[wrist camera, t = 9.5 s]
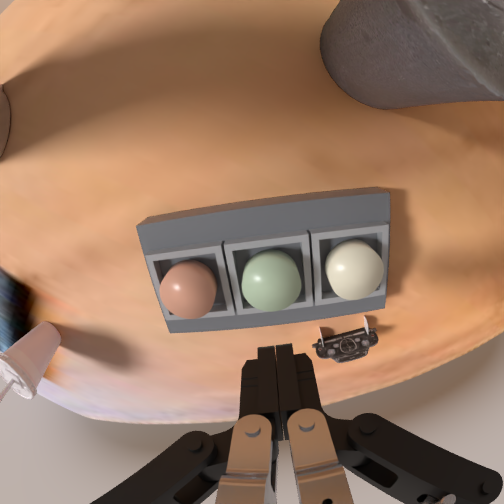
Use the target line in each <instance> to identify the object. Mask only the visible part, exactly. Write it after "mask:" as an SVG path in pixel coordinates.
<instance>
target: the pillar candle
mask: <svg viewBox="0 0 504 504" xmlns="http://www.w3.org/2000/svg"><path fill="white" fill-rule="evenodd" d="M320 50H321V55H322V59H323V62H324V65H325V67H326V69H327V71H328V72H329V74H330V76H331V77H332V78H333V80H334V81H335V82H336V83H337V85H338V86H339V87H340V88H341V89H342V90H344V91H345V92H346V93H347V94H348V95H350V96H351V97H352V98H354V99H356V100H357V101H359V102H361V103H363V104H365V105H368V106H371V107H375V108H380V109H398V108H404V107H413V106H422V105H431V104H441V103H453V102H467V101H504V0H340V2H339V4H338V5H337V7H336V8H335V9H334V11H333V12H332V14H331V16H330V18H329V19H328V20H327V21H326V23H325V25H324V27H323V29H322V33H321V37H320Z"/></svg>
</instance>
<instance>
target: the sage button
mask: <svg viewBox="0 0 504 504" xmlns="http://www.w3.org/2000/svg"><path fill="white" fill-rule="evenodd" d="M300 291H301V279H300V275H299V272H298V268H297V265H296V263H295V261H294V260H293V259H292V258H291V257H290V256H289V255H288V254H286V253H285V252H283V251H280V250H275V249H268V250H263V251H260V252H258V253H256V254H254V255H253V256H252V257H251V258H250V259H249V260H248V261H247V263H246V265H245V267H244V271H243V279H242V292H243V295H244V297H245V299H246V300H247V301H248V303H250V304H251V305H252V306H253V307H255V308H257V309H259V310H262V311H268V312H273V311H279V310H283V309H285V308H287V307H289V306H290V305H292V304H293V303H294V302H295V300H296V299H297V298H298V296H299V294H300Z"/></svg>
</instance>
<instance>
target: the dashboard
mask: <svg viewBox="0 0 504 504" xmlns="http://www.w3.org/2000/svg"><path fill="white" fill-rule="evenodd" d="M319 329H320V327H319ZM376 331H377V330H376V328H372V329H370V328H369V327H368V322H367V319H366V317H365V315H364V328H360V329H356V330H353V331H349V332H345V333H342V334H338V335H334V336H330V337H326V338H322V334H321V330H320V335H321V339H318V343H315V344H313V345H312V346H313V348H316V353H317V356H318V357H319V358H322V359H328V358H332V359H333V360H334V361H336V362H337V363H343V362H348V361H352V360H356V359H359V358H362V357H364V356H366V355H367V354H368V350H369V347H372V346H375V345H376V344H377V343H378V336H377V335H376V333H375V332H376Z"/></svg>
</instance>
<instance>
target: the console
mask: <svg viewBox="0 0 504 504" xmlns="http://www.w3.org/2000/svg"><path fill="white" fill-rule="evenodd" d="M136 228H137V232H138V236H139V239H140V243H141V246H142V250H143V253H144V257H145V260H146V264H147V267H148V270H149V274H150V277H151V280H152V283H153V286H154V289H155V292H156V295H157V298H158V301H159V304H160V307H161V310H162V313H163V316H164V318H165V321H166V324H167V327H168V329H169V332H170V333H187V332H204V331H218V330H231V329H242V328H253V327H263V326H272V325H280V324H289V323H297V322H304V321H311V320H318V319H325V318H332V317H338V316H344V315H350V314H356V313H361V312H367V311H372V310H378V309H383V308H385V302H386V292H387V281H388V267H389V248H390V192H387V191H385V190H383V189H381V188H378V187H369V188H357V189H346V190H335V191H325V192H315V193H306V194H297V195H288V196H280V197H272V198H264V199H257V200H250V201H243V202H236V203H229V204H222V205H216V206H209V207H203V208H197V209H191V210H185V211H179V212H173V213H168V214H162V215H157V216H152V217H147V218H146V219H145V220H143V221H142V222H141V223H139V224H138V225H137V226H136ZM348 239H359V240H362V241H364V242H366V243H367V244H368V245H369V246H370V247H371V248H372V249H373V250H374V251H375V252H376V253H377V254H378V255H379V256H380V258H381V260H382V262H383V266H384V273H383V278H382V280H381V282H380V284H379V286H378V287H377V288H376V290H375V291H374V292H372V293H371V294H370V295H368V296H367V297H364V298H362V299H358V300H347V299H343V298H341V297H340V296H338V295H337V294H336V293H335V292H334V290H333V289H332V287H331V284H330V282H329V280H328V278H327V275H326V272H325V261H326V258H327V256H328V254H329V252H330V251H331V250H332V249H333V248H334V247H335V246H336V245H337V244H339V243H340V242H342V241H345V240H348ZM268 249H275V250H280V251H283V252H285V253H286V254H288V255H289V256H290V257H291V258H292V259H293V260H294V261H295V263H296V265H297V268H298V272H299V275H300V279H301V291H300V294H299V296H298V298H297V299H296V300H295V302H294V303H293V304H292V305H290V306H289V307H287V308H285V309H283V310H279V311H273V312H268V311H262V310H259V309H257V308H255V307H253V306H252V305H251V304H250V303H248V301H247V300H246V299H245V297H244V295H243V292H242V279H243V271H244V267H245V265H246V263H247V261H248V260H249V259H250V258H251V257H252V256H253V255H254V254H256V253H258V252H260V251H263V250H268ZM182 260H196V261H199V262H201V263H203V264H205V265H206V266H208V267H209V268H210V269H211V270H212V272H213V273H214V275H215V277H216V279H217V284H218V287H217V292H216V296H215V300H214V303H213V306H212V308H211V310H210V311H209V312H208V313H207V314H206V315H204V316H203V317H200V318H197V319H185V318H181V317H179V316H176V315H175V314H173V313H171V312H170V311H169V310H168V309H167V308H166V307H165V305H164V304H163V302H162V300H161V298H160V292H159V290H160V285H161V282H162V280H163V279H164V277H165V276H166V274H167V272H168V271H169V269H170V268H171V267H172V266H173V265H174V264H175V263H177V262H179V261H182Z"/></svg>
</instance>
